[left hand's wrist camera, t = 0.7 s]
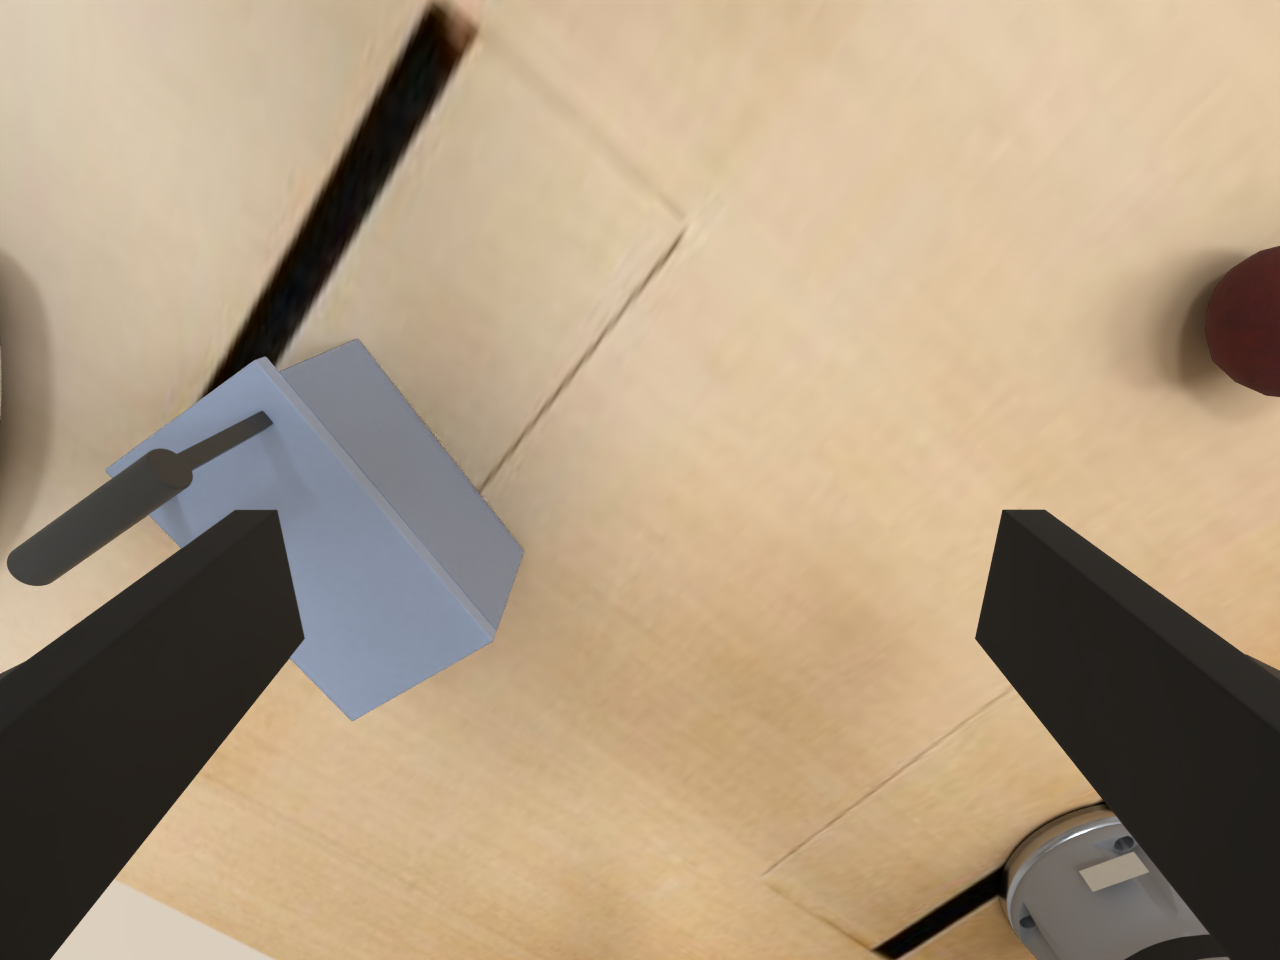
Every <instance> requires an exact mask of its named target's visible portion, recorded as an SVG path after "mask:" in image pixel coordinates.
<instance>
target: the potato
mask: <svg viewBox="0 0 1280 960" xmlns="http://www.w3.org/2000/svg"><path fill="white" fill-rule="evenodd" d="M1205 332H1206V338H1207V342H1208V346H1209V349H1210V353H1211V356H1212V360H1213V362H1214V363H1215V364H1217V365H1218V366H1219V367H1220V368H1221V369H1222V370H1223V371H1224V372H1225V373H1226V374H1227V375H1228V376H1230V377H1231V378H1232V379H1233V380H1234V381H1235V382H1237V383H1239V384H1241V385H1244V386H1246V387H1248V388H1250V389H1252V390H1255V391H1257V392H1259V393H1262V394H1264V395H1266V396H1276V397H1280V246H1278V247H1274V248H1270V249H1266V250H1262V251H1259V252H1258V253H1256V254H1254V255H1252V256H1250V257H1249V258H1247V259H1246V260H1244V261H1243V262H1241V263H1240V264H1238V265H1237V266H1235V267H1234V268H1232V269H1231V270H1230V271H1229V272H1228V273H1227V274H1226V276H1225V277H1224V278H1223V279H1222V280H1221V282H1220V283H1219V284H1218V285H1217V286H1216V289H1215V291H1214V293H1213V296H1212V298H1211V300H1210V302H1209V305H1208V311H1207V319H1206V327H1205Z"/></svg>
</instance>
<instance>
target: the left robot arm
mask: <svg viewBox="0 0 1280 960" xmlns="http://www.w3.org/2000/svg"><path fill="white" fill-rule="evenodd" d="M304 639H305V637H304V632H303V628H302V623H301V618H300V613H299V609H298V604H297V599H296V595H295V590H294V585H293V581H292V576H291V571H290V567H289V562H288V557H287V552H286V548H285V543H284V538H283V534H282V529H281V524H280V520H279V515H278V510H234V511H233V512H231V513H230V514H229V515H227V516H226V517H224V518H223V519H222V520H220V521H219V522H218V523H216V524H215V525H213V526H212V527H211V528H209V529H208V530H206V531H205V532H204V533H202V534H201V535H200V536H198V537H197V538H195V539H194V540H193V541H191V542H190V543H189V544H187V545H186V546H184V547H183V548H182V549H180V550H179V551H177V552H176V553H175V554H173V555H172V556H171V557H169V558H168V559H166V560H165V561H164V562H162V563H161V564H159V565H158V566H157V567H155V568H154V569H153V570H151V571H150V572H148V573H147V574H146V575H144V576H143V577H142V578H140V579H139V580H137V581H136V582H135V583H133V584H132V585H130V586H129V587H128V588H126V589H125V590H124V591H122V592H121V593H119V594H118V595H117V596H115V597H114V598H113V599H111V600H110V601H108V602H107V603H106V604H104V605H103V606H101V607H100V608H99V609H97V610H96V611H95V612H93V613H92V614H90V615H89V616H88V617H86V618H85V619H84V620H82V621H81V622H79V623H78V624H77V625H75V626H74V627H72V628H71V629H70V630H68V631H67V632H66V633H64V634H63V635H61V636H60V637H59V638H57V639H56V640H55V641H53V642H52V643H50V644H49V645H48V646H46V647H45V648H43V649H42V650H41V651H39V652H38V653H37V654H35V655H34V656H32V657H31V658H30V659H28V660H27V661H25V662H23V663H21V664H19V665H17V666H15V667H13V668H11V669H9V670H7V671H5V672H3V673H1V674H0V960H50V959H51V958H52V956H53V955H54V954H55V953H56V951H57V950H58V949H59V948H60V946H61V945H62V944H63V943H64V941H65V940H66V939H67V938H68V936H69V935H70V934H71V933H72V931H73V930H74V929H75V927H76V926H77V925H78V924H79V922H80V921H81V920H82V919H83V917H84V916H85V915H86V914H87V912H88V911H89V910H90V909H91V907H92V906H93V905H94V904H95V902H96V901H97V900H98V899H99V897H100V896H101V895H102V894H103V892H104V891H105V890H106V889H107V887H108V886H109V885H110V883H111V882H112V881H113V880H114V878H115V877H116V876H117V875H118V873H119V872H120V871H121V870H122V868H123V867H124V866H125V865H126V863H127V862H128V861H129V860H130V858H131V857H132V856H133V855H134V853H135V852H136V851H137V849H138V848H139V847H140V846H141V844H142V843H143V842H144V841H145V839H146V838H147V837H148V836H149V834H150V833H151V832H152V831H153V829H154V828H155V827H156V826H157V824H158V823H159V822H160V821H161V819H162V818H163V817H164V815H165V814H166V813H167V812H168V810H169V809H170V808H171V807H172V805H173V804H174V803H175V802H176V800H177V799H178V798H179V797H180V795H181V794H182V793H183V792H184V790H185V789H186V788H187V787H188V785H189V784H190V783H191V781H192V780H193V779H194V778H195V776H196V775H197V774H198V773H199V771H200V770H201V769H202V768H203V766H204V765H205V764H206V763H207V761H208V760H209V759H210V758H211V756H212V755H213V754H214V753H215V751H216V750H217V749H218V747H219V746H220V745H221V744H222V742H223V741H224V740H225V739H226V737H227V736H228V735H229V734H230V732H231V731H232V730H233V729H234V727H235V726H236V725H237V724H238V722H239V721H240V720H241V719H242V717H243V716H244V715H245V713H246V712H247V711H248V710H249V708H250V707H251V706H252V705H253V703H254V702H255V701H256V700H257V698H258V697H259V696H260V695H261V693H262V692H263V691H264V690H265V688H266V687H267V686H268V685H269V683H270V682H271V681H272V679H273V678H274V677H275V676H276V674H277V673H278V672H279V671H280V669H281V668H282V667H283V666H284V664H285V663H286V662H287V661H288V659H289V658H290V657H291V656H292V654H293V653H294V652H295V651H296V649H297V648H298V647H299V645H300V644H301V643H302V642H303V640H304ZM975 639H976V640H977V642H978V643H979V644H980V645H981V647H982V648H983V649H984V651H985V652H986V653H987V654H988V656H989V657H990V658H991V659H992V661H993V662H994V663H995V664H996V666H997V667H998V668H999V669H1000V671H1001V672H1002V673H1003V674H1004V676H1005V677H1006V678H1007V679H1008V681H1009V682H1010V683H1011V685H1012V686H1013V687H1014V688H1015V690H1016V691H1017V692H1018V693H1019V695H1020V696H1021V697H1022V698H1023V700H1024V701H1025V702H1026V703H1027V705H1028V706H1029V707H1030V708H1031V710H1032V711H1033V712H1034V713H1035V715H1036V716H1037V717H1038V719H1039V720H1040V721H1041V722H1042V724H1043V725H1044V726H1045V727H1046V729H1047V730H1048V731H1049V732H1050V734H1051V735H1052V736H1053V737H1054V739H1055V740H1056V741H1057V742H1058V744H1059V745H1060V746H1061V747H1062V749H1063V750H1064V751H1065V753H1066V754H1067V755H1068V756H1069V758H1070V759H1071V760H1072V761H1073V763H1074V764H1075V765H1076V766H1077V768H1078V769H1079V770H1080V771H1081V773H1082V774H1083V775H1084V776H1085V778H1086V779H1087V780H1088V781H1089V783H1090V784H1091V785H1092V787H1093V788H1094V789H1095V790H1096V792H1097V793H1098V794H1099V795H1100V797H1101V798H1102V799H1103V800H1104V802H1105V803H1106V804H1107V805H1108V807H1109V808H1110V809H1111V810H1112V812H1113V813H1114V814H1115V815H1116V817H1117V818H1118V819H1119V821H1120V822H1121V823H1122V824H1123V826H1124V827H1125V828H1126V829H1127V831H1128V832H1129V833H1130V834H1131V836H1132V837H1133V838H1134V839H1135V841H1136V842H1137V843H1138V844H1139V846H1140V847H1141V848H1142V849H1143V851H1144V852H1145V853H1146V855H1147V856H1148V857H1149V858H1150V860H1151V861H1152V862H1153V863H1154V865H1155V866H1156V867H1157V868H1158V870H1159V871H1160V872H1161V873H1162V875H1163V876H1164V877H1165V878H1166V880H1167V881H1168V882H1169V883H1170V885H1171V886H1172V887H1173V889H1174V890H1175V891H1176V892H1177V894H1178V895H1179V896H1180V897H1181V899H1182V900H1183V901H1184V902H1185V904H1186V905H1187V906H1188V907H1189V909H1190V910H1191V911H1192V912H1193V914H1194V915H1195V916H1196V917H1197V919H1198V920H1199V921H1200V923H1201V924H1202V925H1203V926H1204V928H1205V929H1206V930H1207V931H1208V933H1209V934H1210V935H1211V936H1212V938H1213V939H1214V940H1215V941H1216V943H1217V944H1218V945H1219V946H1220V948H1221V949H1222V950H1223V951H1224V953H1225V954H1226V955H1227V957H1228V958H1229V959H1230V960H1280V671H1279V670H1277V669H1275V668H1273V667H1271V666H1269V665H1267V664H1265V663H1263V662H1261V661H1259V660H1257V659H1255V658H1253V657H1251V656H1249V655H1245V654H1243V653H1242V652H1241V651H1239V650H1238V649H1237V648H1235V647H1234V646H1232V645H1231V644H1230V643H1228V642H1227V641H1225V640H1224V639H1223V638H1221V637H1220V636H1219V635H1217V634H1216V633H1214V632H1213V631H1212V630H1210V629H1209V628H1208V627H1206V626H1205V625H1203V624H1202V623H1201V622H1199V621H1198V620H1196V619H1195V618H1194V617H1192V616H1191V615H1190V614H1188V613H1187V612H1185V611H1184V610H1183V609H1181V608H1180V607H1179V606H1177V605H1176V604H1174V603H1173V602H1172V601H1170V600H1169V599H1167V598H1166V597H1165V596H1163V595H1162V594H1161V593H1159V592H1158V591H1156V590H1155V589H1154V588H1152V587H1151V586H1150V585H1148V584H1147V583H1145V582H1144V581H1143V580H1141V579H1140V578H1138V577H1137V576H1136V575H1134V574H1133V573H1132V572H1130V571H1129V570H1127V569H1126V568H1125V567H1123V566H1122V565H1121V564H1119V563H1118V562H1116V561H1115V560H1114V559H1112V558H1111V557H1109V556H1108V555H1107V554H1105V553H1104V552H1103V551H1101V550H1100V549H1098V548H1097V547H1096V546H1094V545H1093V544H1091V543H1090V542H1089V541H1087V540H1086V539H1085V538H1083V537H1082V536H1080V535H1079V534H1078V533H1076V532H1075V531H1074V530H1072V529H1071V528H1069V527H1068V526H1067V525H1065V524H1064V523H1062V522H1061V521H1060V520H1058V519H1057V518H1056V517H1054V516H1053V515H1051V514H1050V513H1049V512H1047V511H1046V510H1002V515H1001V520H1000V524H999V529H998V534H997V538H996V543H995V548H994V552H993V557H992V562H991V567H990V571H989V576H988V581H987V585H986V590H985V595H984V599H983V604H982V609H981V613H980V618H979V623H978V628H977V632H976V637H975Z"/></svg>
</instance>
